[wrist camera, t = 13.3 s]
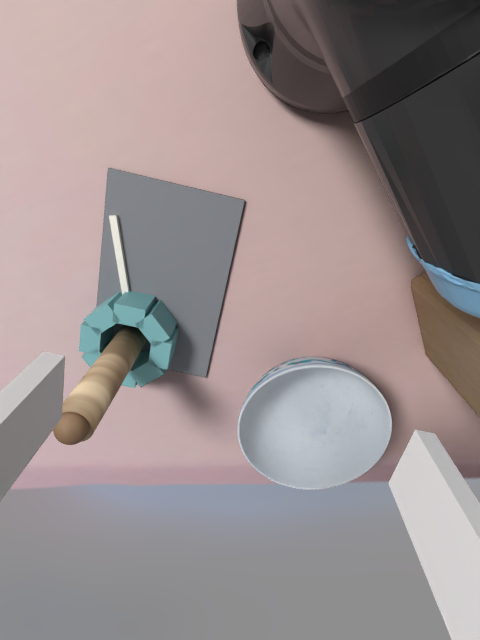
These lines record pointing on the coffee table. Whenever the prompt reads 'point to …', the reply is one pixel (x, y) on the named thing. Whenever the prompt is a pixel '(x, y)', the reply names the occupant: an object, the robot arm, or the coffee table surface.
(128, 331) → the wooden rod
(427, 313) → the wooden block
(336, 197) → the coffee table surface
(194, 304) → the mat
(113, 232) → the white stick
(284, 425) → the chinaware
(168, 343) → the bead
